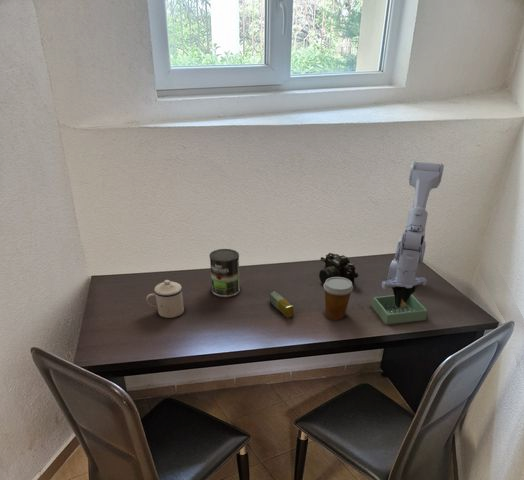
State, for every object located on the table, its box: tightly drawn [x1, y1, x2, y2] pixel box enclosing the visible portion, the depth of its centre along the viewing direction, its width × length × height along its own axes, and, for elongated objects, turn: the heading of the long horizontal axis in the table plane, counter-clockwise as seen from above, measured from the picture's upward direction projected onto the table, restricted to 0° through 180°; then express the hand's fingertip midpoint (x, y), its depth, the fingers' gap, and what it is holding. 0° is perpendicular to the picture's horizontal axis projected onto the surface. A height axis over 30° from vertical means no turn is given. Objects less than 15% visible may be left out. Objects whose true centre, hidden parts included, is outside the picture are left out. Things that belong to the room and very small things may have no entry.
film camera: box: [318, 252, 359, 287], centre depth 172 cm, size 18×12×10 cm
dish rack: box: [384, 299, 413, 313], centre depth 154 cm, size 8×7×5 cm
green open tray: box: [371, 294, 428, 325], centre depth 155 cm, size 14×12×4 cm
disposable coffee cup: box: [322, 277, 354, 321], centre depth 152 cm, size 10×10×12 cm
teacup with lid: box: [146, 279, 185, 319], centre depth 153 cm, size 12×9×12 cm
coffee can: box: [209, 248, 241, 298], centre depth 165 cm, size 10×10×14 cm
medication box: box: [269, 290, 295, 318], centre depth 157 cm, size 12×3×4 cm, turn 28°
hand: (399, 305), depth 154 cm, fingers closed on dish rack
